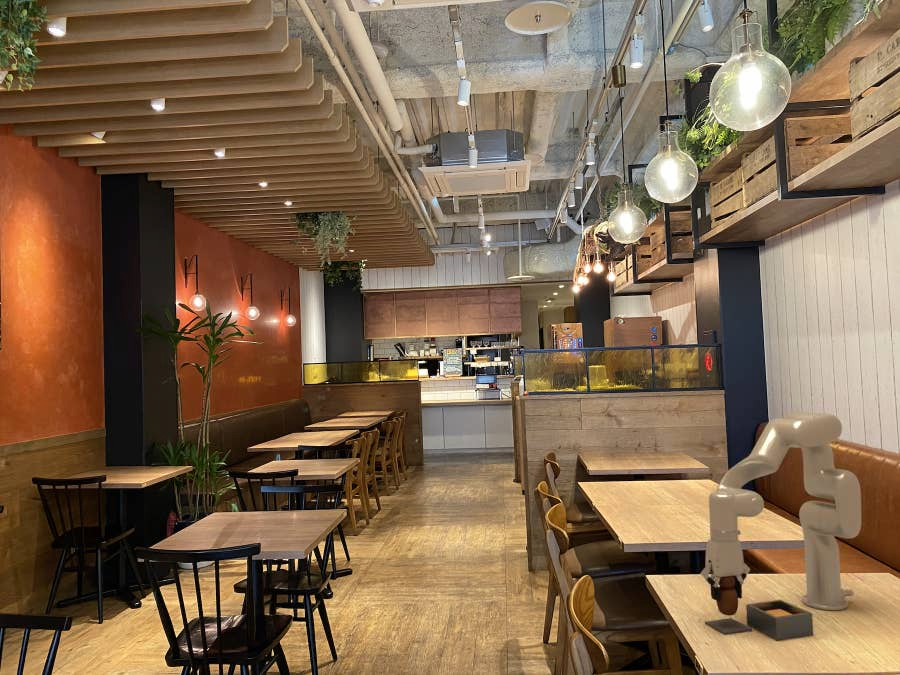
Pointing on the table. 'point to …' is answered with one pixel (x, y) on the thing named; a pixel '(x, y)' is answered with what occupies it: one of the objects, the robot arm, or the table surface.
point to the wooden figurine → (727, 596)
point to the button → (778, 612)
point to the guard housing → (779, 620)
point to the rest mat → (728, 626)
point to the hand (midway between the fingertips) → (726, 597)
